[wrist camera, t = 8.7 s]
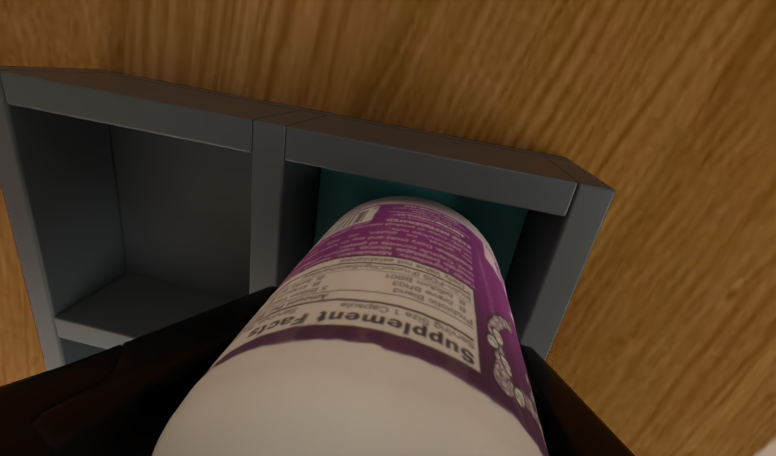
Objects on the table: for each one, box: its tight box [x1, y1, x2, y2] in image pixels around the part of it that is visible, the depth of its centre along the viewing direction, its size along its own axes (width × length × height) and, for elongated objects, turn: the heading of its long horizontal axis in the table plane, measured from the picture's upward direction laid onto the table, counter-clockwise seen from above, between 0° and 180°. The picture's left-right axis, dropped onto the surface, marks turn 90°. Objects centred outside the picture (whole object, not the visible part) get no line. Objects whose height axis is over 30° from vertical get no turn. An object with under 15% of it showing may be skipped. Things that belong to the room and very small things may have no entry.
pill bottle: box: [152, 196, 549, 456], centre depth 7 cm, size 5×5×10 cm
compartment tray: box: [0, 66, 615, 371], centre depth 13 cm, size 15×15×4 cm
